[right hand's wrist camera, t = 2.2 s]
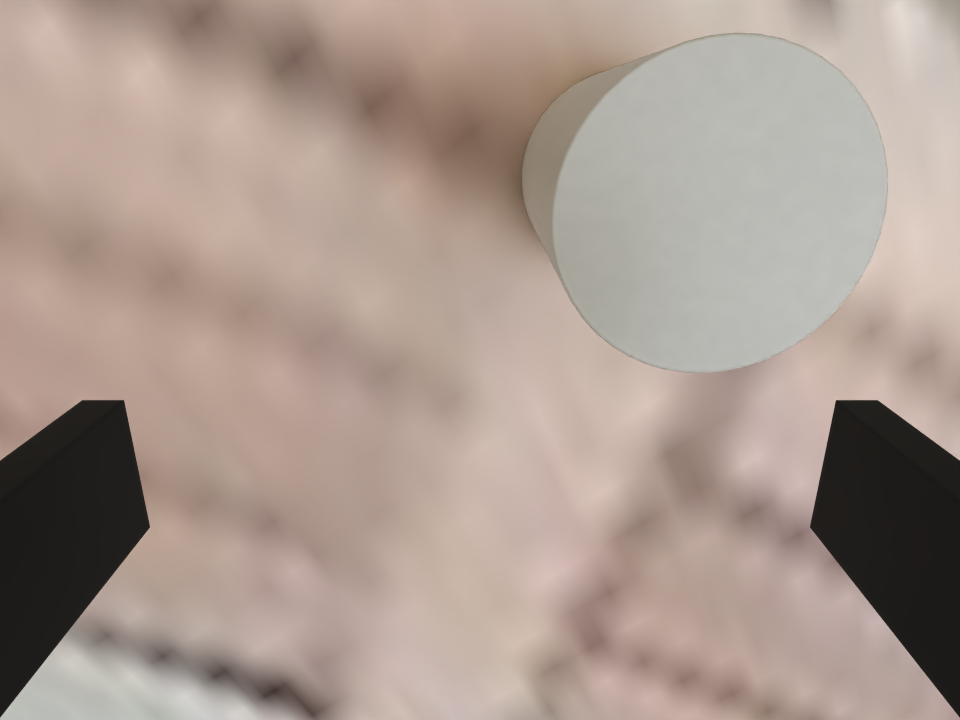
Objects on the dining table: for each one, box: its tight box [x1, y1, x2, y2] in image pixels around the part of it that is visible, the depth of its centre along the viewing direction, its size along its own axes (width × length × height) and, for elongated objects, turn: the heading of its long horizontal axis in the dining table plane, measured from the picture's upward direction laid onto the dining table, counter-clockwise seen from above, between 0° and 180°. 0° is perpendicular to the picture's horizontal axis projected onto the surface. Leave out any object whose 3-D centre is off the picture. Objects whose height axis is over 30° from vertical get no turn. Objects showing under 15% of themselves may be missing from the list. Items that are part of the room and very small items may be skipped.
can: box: [522, 33, 888, 373], centre depth 24 cm, size 9×9×13 cm
